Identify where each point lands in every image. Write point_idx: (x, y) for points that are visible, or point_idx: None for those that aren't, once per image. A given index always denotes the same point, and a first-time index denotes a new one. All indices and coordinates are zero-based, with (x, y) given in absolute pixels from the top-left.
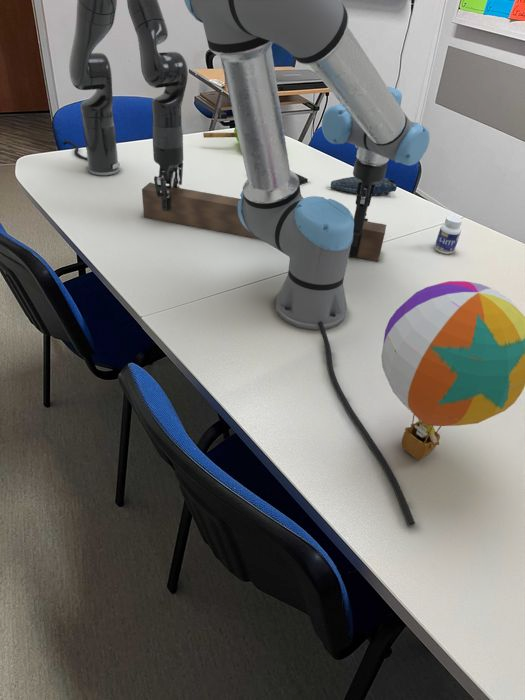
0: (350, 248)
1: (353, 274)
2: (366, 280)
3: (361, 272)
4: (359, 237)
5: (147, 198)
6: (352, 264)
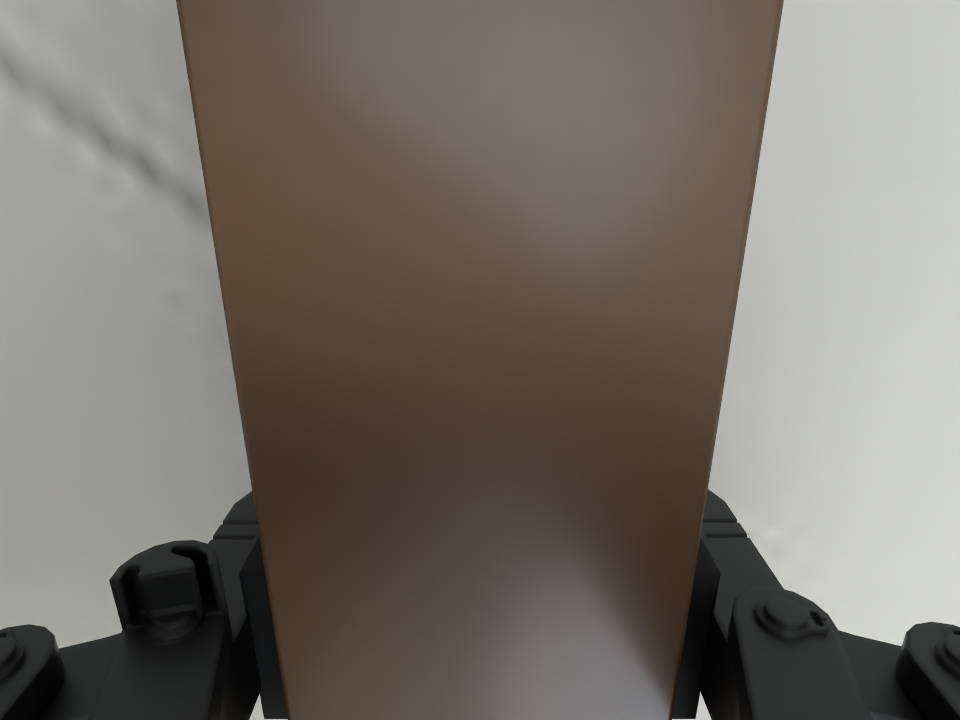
0: None
1: (45, 478)
2: (16, 581)
3: (125, 534)
4: None
5: None
6: (227, 449)
